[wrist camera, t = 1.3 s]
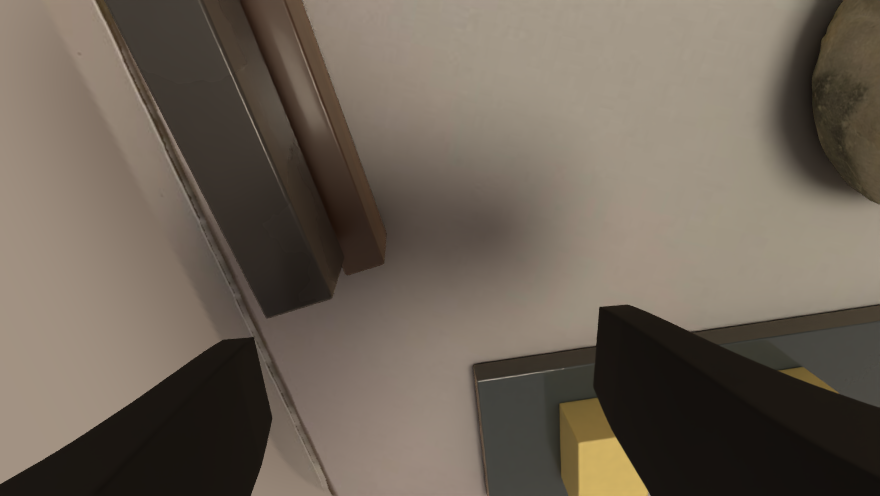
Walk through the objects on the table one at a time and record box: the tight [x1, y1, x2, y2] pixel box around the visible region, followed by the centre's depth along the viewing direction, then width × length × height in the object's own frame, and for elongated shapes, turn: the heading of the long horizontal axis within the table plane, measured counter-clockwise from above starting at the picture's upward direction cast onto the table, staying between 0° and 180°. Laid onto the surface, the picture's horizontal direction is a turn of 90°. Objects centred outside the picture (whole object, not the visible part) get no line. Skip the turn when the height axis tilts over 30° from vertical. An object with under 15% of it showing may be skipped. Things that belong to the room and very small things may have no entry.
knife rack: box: [239, 0, 387, 275], centre depth 15 cm, size 4×10×3 cm, turn 17°
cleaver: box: [104, 0, 344, 318], centre depth 13 cm, size 2×9×7 cm, turn 17°
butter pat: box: [559, 398, 648, 496], centre depth 20 cm, size 3×4×2 cm
